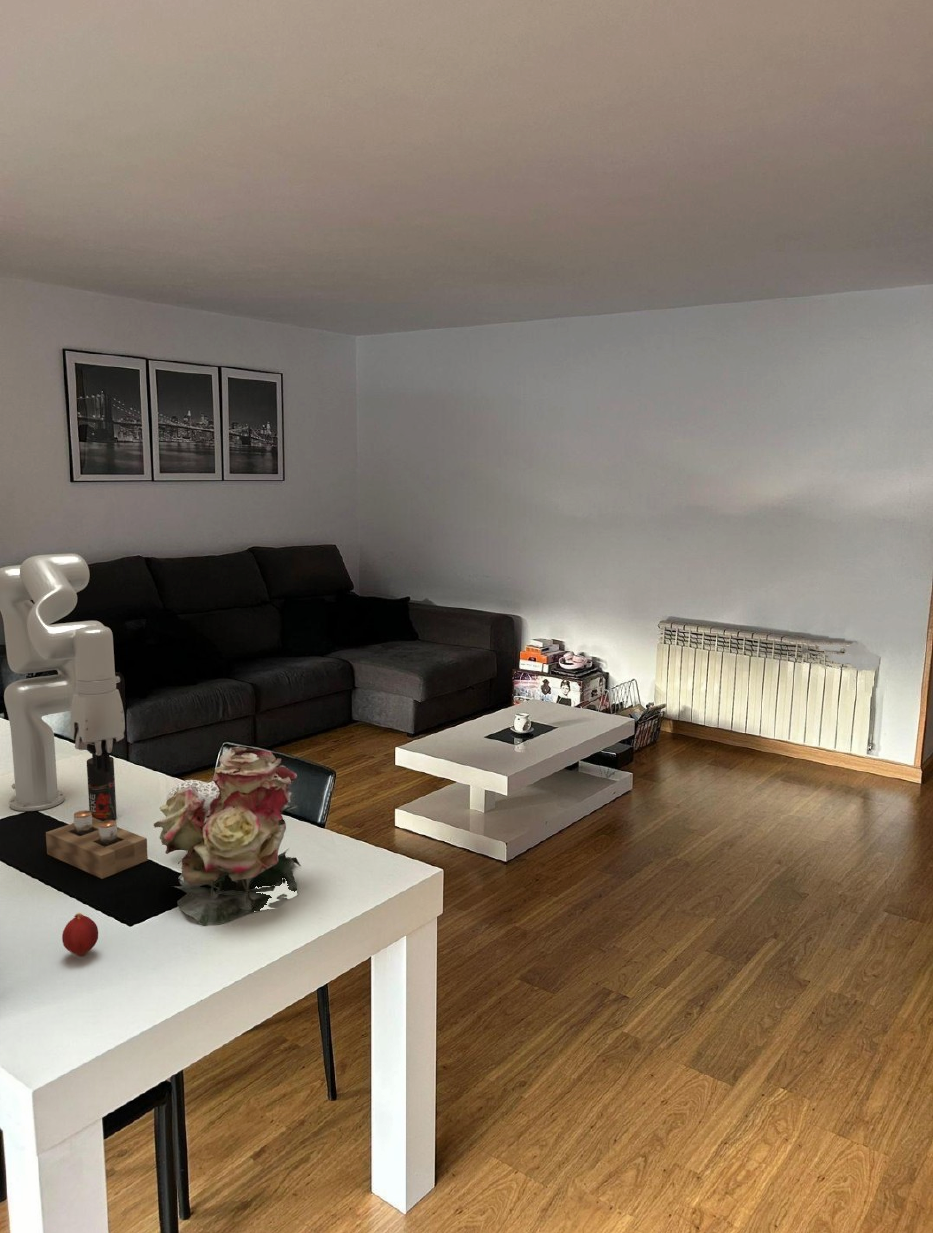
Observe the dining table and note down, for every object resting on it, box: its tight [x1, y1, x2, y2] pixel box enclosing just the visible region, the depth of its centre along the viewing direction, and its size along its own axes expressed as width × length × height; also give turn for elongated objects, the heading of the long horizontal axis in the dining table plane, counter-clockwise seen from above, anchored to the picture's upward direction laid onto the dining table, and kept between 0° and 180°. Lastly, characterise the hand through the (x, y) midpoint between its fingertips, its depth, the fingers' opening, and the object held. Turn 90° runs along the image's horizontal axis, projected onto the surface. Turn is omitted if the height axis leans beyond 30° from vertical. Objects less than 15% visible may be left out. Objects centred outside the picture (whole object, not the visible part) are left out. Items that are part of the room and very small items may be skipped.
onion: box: [61, 912, 99, 957], centre depth 160 cm, size 6×6×8 cm
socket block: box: [45, 817, 149, 880], centre depth 199 cm, size 20×11×5 cm, turn 55°
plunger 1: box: [73, 809, 93, 836], centre depth 201 cm, size 4×4×5 cm
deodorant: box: [86, 756, 118, 822], centre depth 218 cm, size 6×6×15 cm
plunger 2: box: [99, 820, 118, 847], centre depth 196 cm, size 4×4×5 cm
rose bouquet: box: [153, 744, 301, 927], centre depth 181 cm, size 26×29×30 cm
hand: (101, 771), depth 193 cm, fingers closed
